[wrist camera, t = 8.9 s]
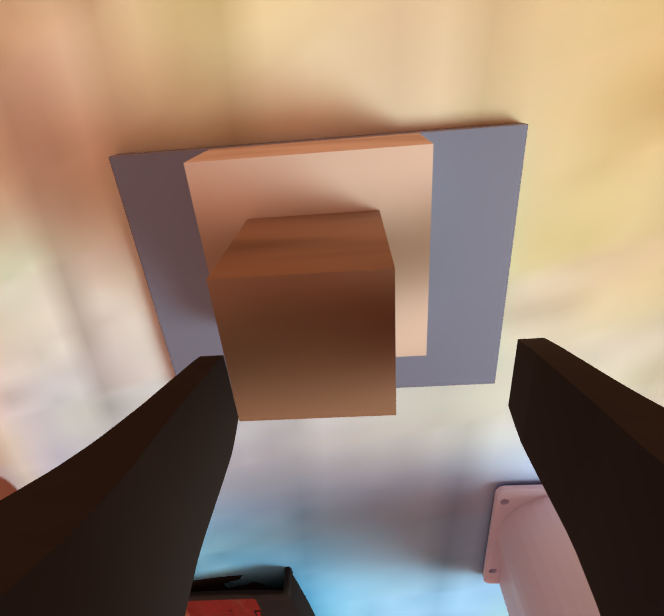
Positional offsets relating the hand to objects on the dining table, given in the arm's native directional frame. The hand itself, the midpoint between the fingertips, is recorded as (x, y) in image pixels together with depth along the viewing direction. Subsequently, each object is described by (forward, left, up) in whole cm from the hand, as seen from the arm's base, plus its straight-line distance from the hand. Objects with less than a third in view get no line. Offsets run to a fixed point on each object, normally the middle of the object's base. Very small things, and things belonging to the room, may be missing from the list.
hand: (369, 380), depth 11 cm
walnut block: (0, +2, -6) cm, 6 cm away
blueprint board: (-1, +2, -9) cm, 10 cm away
